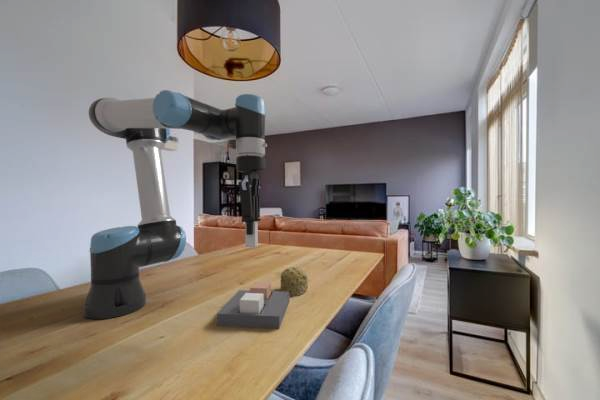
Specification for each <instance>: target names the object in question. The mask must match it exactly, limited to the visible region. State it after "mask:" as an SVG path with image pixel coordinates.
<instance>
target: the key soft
mask: <svg viewBox="0 0 600 400" xmlns="http://www.w3.org/2000/svg"><path fill="white" fill-rule="evenodd" d="M263 307H264V294H263V293H245V294H244V296H243V297H242V298H241V299H240V313H254V314H259V313H260V312H261V310H262V308H263Z"/></svg>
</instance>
